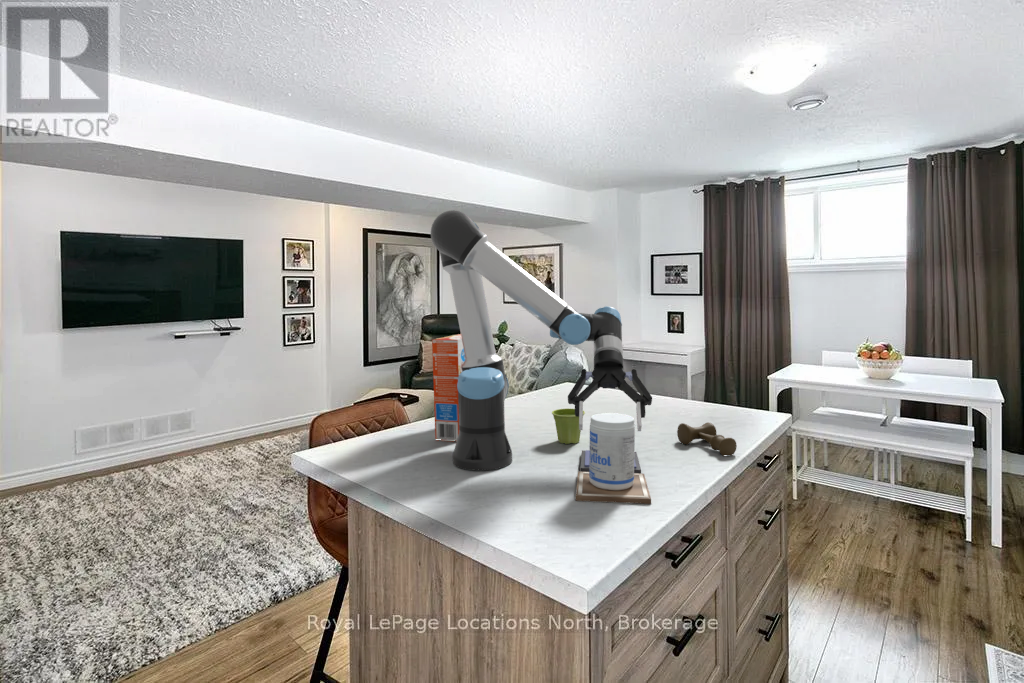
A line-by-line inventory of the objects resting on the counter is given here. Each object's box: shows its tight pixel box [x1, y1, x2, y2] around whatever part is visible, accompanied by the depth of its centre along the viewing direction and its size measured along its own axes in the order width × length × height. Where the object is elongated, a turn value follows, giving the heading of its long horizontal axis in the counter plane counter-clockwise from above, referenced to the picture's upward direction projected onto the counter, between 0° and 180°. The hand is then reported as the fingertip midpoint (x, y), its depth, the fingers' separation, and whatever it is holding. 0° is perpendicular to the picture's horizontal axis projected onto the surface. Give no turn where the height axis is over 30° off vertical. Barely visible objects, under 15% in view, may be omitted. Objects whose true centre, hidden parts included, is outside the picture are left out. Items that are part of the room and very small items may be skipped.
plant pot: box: [551, 408, 586, 445], centre depth 149 cm, size 9×9×9 cm
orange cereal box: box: [431, 333, 465, 441], centre depth 162 cm, size 23×8×30 cm, turn 163°
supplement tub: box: [589, 412, 636, 490], centre depth 112 cm, size 10×10×15 cm
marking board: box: [575, 471, 652, 505], centre depth 112 cm, size 15×15×1 cm
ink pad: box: [579, 449, 642, 474], centre depth 128 cm, size 14×14×2 cm
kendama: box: [676, 422, 738, 456], centre depth 142 cm, size 6×10×20 cm
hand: (610, 428), depth 122 cm, fingers open, 13 cm apart
